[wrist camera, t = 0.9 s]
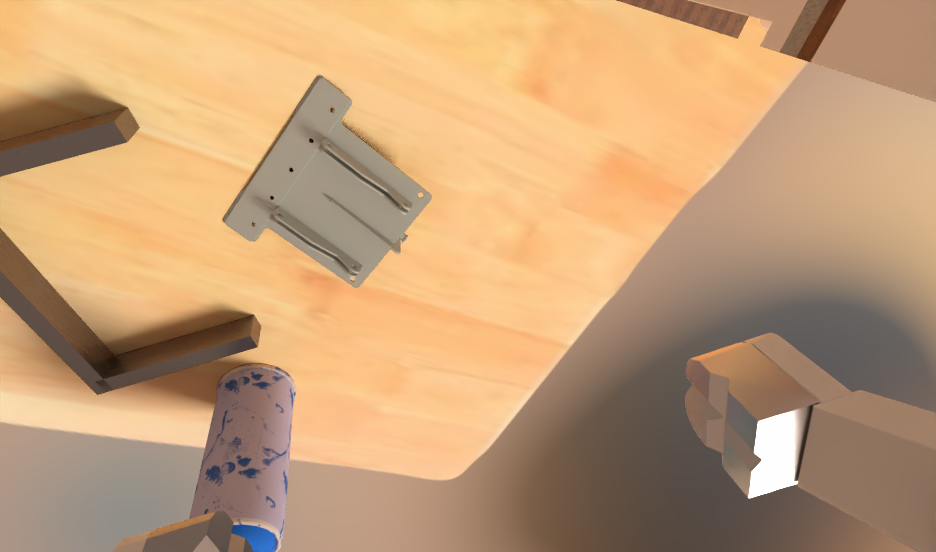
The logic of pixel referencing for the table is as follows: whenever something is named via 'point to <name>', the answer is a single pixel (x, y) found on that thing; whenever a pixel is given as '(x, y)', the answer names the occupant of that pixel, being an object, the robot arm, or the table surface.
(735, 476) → the robot arm
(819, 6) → the banded square pillar
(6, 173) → the steel u-shaped frame
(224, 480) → the aerosol can
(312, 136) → the metal bracket
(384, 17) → the table surface
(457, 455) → the table surface
